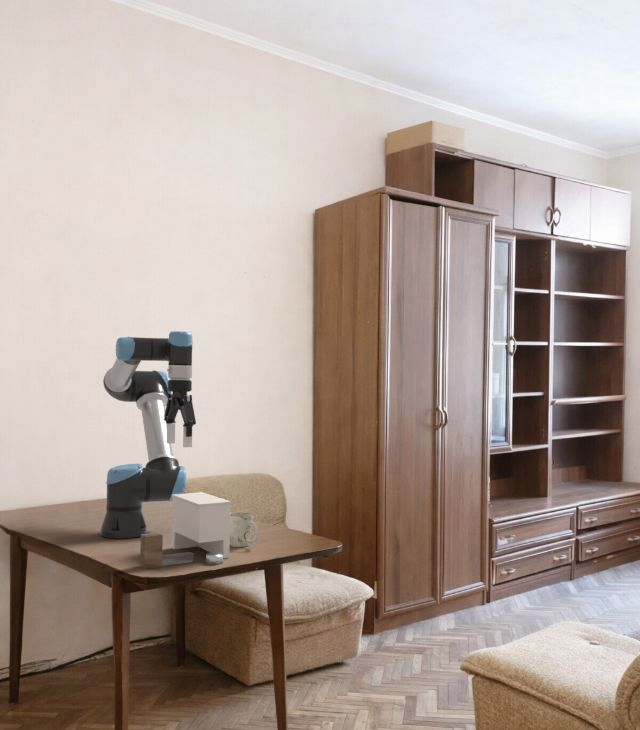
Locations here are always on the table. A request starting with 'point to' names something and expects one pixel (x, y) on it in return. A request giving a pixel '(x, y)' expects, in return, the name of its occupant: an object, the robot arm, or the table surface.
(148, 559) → the blade tool
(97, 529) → the table surface
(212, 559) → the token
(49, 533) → the table surface
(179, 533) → the cabinet
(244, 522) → the mug
